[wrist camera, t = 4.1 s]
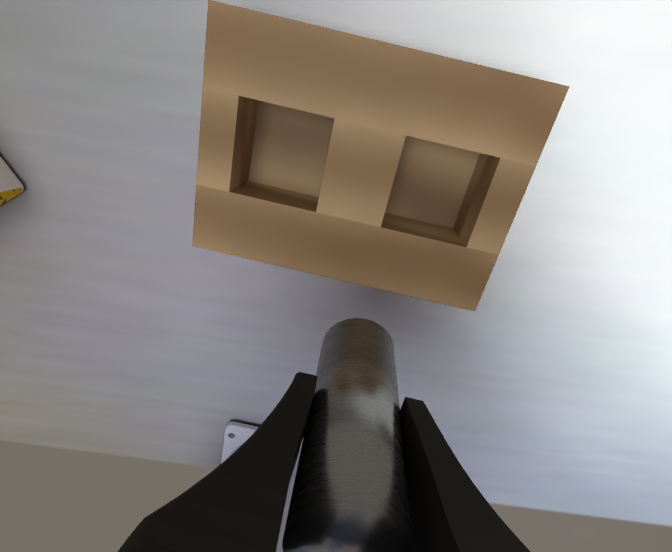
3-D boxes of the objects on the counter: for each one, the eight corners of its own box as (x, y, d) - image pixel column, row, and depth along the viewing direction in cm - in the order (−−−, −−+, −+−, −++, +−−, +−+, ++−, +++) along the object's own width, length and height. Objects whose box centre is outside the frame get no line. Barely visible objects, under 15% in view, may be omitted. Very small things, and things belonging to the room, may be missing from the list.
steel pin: (384, 384, 17) (394, 602, 9) (316, 370, 17) (274, 576, 9) (402, 327, 15) (430, 525, 8) (329, 311, 15) (292, 495, 8)
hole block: (459, 281, 22) (474, 311, 19) (218, 225, 22) (192, 246, 18) (533, 91, 18) (569, 86, 14) (237, 19, 17) (208, -1, 14)
